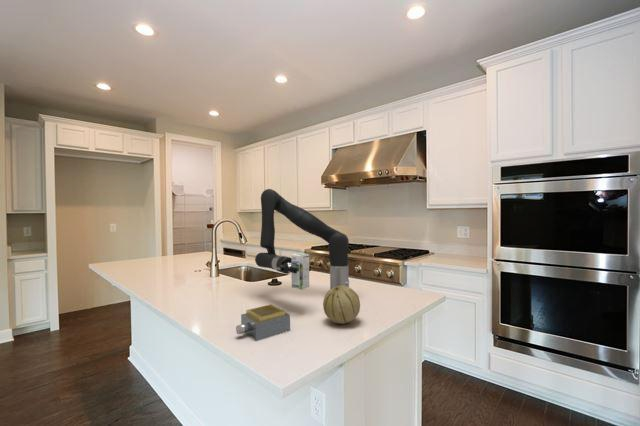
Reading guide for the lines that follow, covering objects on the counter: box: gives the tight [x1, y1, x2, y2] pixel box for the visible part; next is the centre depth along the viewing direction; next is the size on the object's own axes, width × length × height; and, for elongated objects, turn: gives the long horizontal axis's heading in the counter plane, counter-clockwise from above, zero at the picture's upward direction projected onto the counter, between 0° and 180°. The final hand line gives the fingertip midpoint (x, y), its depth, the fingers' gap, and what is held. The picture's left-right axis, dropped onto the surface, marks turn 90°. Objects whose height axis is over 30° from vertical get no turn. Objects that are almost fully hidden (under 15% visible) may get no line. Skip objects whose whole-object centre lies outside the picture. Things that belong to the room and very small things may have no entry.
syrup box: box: [291, 252, 310, 290], centre depth 131 cm, size 6×6×14 cm
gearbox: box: [235, 304, 291, 342], centre depth 113 cm, size 18×12×8 cm, turn 129°
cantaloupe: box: [322, 285, 361, 325], centre depth 122 cm, size 15×15×15 cm
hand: (303, 269), depth 129 cm, fingers closed on syrup box, 6 cm apart
